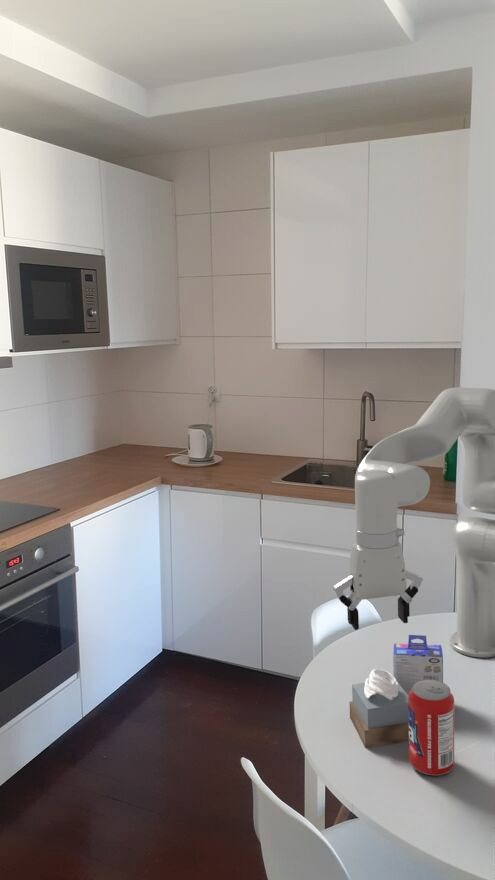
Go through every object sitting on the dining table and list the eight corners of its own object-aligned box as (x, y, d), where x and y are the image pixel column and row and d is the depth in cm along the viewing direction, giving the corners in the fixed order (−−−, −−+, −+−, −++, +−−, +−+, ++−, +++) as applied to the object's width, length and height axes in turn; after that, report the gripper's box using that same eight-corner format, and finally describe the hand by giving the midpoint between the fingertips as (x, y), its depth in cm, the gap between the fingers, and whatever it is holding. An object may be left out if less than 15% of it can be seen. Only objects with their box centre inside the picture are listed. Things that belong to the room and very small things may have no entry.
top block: (395, 696, 141) (394, 678, 140) (413, 721, 132) (413, 702, 132) (352, 702, 140) (352, 684, 139) (368, 728, 131) (367, 709, 130)
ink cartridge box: (442, 698, 146) (442, 633, 143) (444, 713, 141) (444, 646, 138) (394, 695, 148) (393, 631, 145) (394, 709, 143) (393, 644, 140)
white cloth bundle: (362, 686, 140) (359, 663, 139) (395, 683, 139) (393, 659, 139) (367, 706, 132) (364, 681, 131) (402, 702, 131) (400, 678, 131)
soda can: (448, 784, 120) (448, 704, 117) (403, 772, 124) (402, 694, 121) (458, 758, 126) (459, 682, 124) (415, 747, 130) (415, 673, 128)
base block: (397, 713, 142) (397, 695, 141) (416, 742, 132) (415, 723, 132) (349, 719, 141) (349, 701, 140) (365, 749, 131) (364, 730, 130)
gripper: (412, 526, 134) (413, 609, 138) (326, 536, 132) (329, 620, 135) (429, 538, 127) (430, 626, 130) (337, 549, 124) (340, 638, 128)
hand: (378, 623), depth 133 cm, fingers open, 9 cm apart
